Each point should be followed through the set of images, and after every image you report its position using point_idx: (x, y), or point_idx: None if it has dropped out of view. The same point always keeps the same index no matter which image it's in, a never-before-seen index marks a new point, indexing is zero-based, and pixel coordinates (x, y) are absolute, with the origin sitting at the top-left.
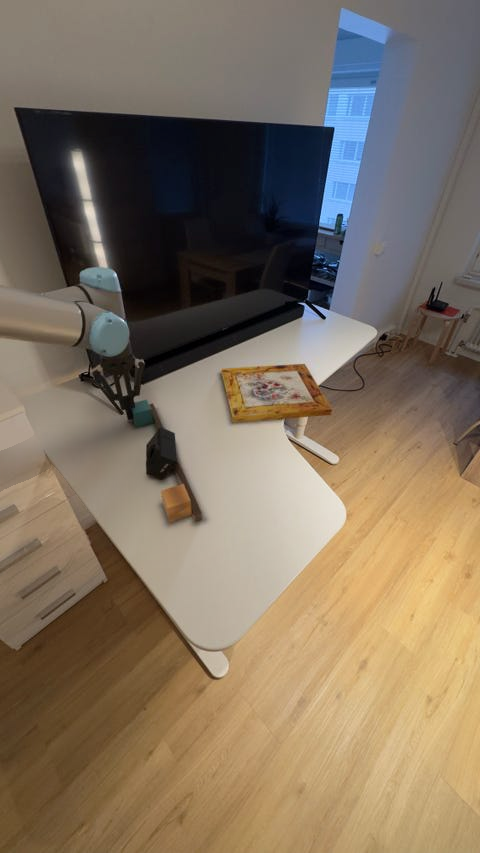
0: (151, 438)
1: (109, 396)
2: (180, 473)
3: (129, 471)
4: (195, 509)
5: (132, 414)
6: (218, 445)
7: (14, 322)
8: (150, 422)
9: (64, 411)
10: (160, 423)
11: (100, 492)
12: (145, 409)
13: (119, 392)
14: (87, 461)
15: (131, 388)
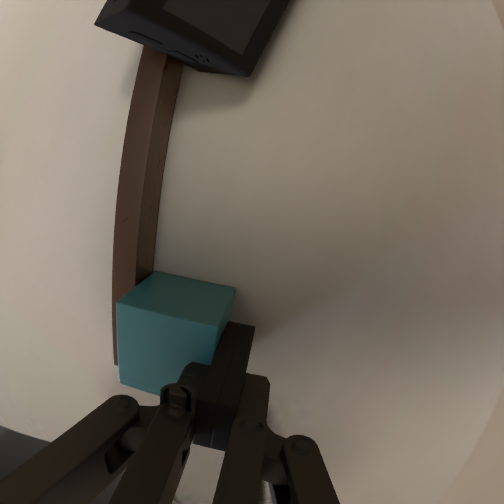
0: (212, 46)
1: (327, 473)
2: None
3: (368, 35)
4: None
5: (222, 337)
6: (35, 34)
7: None
8: (165, 275)
9: (404, 470)
10: (122, 206)
11: (474, 27)
12: (143, 317)
13: (241, 477)
14: (482, 195)
15: (133, 460)
